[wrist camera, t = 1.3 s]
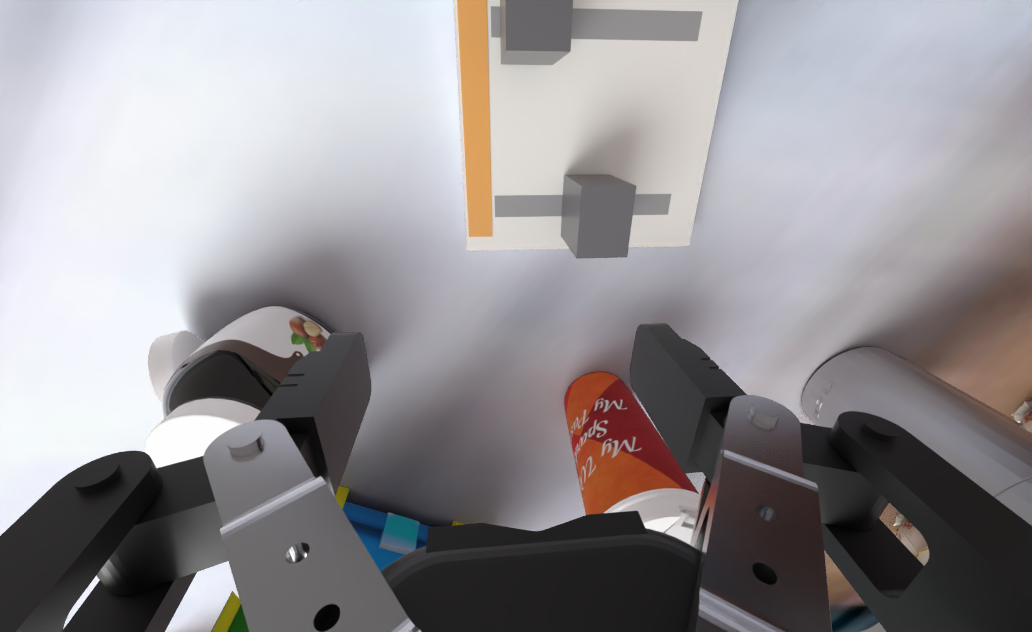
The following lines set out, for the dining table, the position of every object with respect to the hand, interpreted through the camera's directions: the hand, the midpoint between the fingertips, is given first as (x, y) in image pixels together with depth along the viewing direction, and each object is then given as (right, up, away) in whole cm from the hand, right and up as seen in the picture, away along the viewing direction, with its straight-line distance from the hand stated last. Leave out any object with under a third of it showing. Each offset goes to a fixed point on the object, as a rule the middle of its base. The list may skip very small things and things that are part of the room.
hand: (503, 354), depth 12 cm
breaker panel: (+5, +14, +15) cm, 21 cm away
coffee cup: (+8, -6, +25) cm, 27 cm away
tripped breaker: (+5, +8, +15) cm, 18 cm away
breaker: (+1, +17, +10) cm, 20 cm away
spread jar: (-19, -2, +21) cm, 28 cm away
